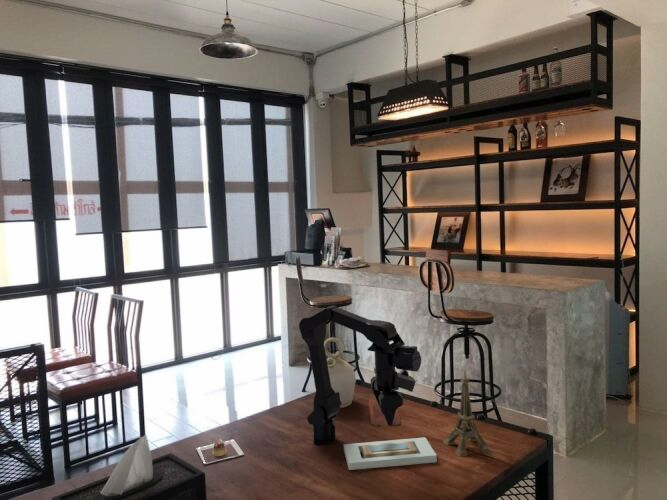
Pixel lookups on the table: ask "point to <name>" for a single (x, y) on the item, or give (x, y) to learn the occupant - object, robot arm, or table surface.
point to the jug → (340, 374)
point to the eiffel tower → (466, 424)
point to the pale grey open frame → (356, 462)
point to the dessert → (220, 450)
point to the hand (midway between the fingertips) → (387, 419)
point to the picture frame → (388, 449)
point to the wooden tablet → (381, 415)
